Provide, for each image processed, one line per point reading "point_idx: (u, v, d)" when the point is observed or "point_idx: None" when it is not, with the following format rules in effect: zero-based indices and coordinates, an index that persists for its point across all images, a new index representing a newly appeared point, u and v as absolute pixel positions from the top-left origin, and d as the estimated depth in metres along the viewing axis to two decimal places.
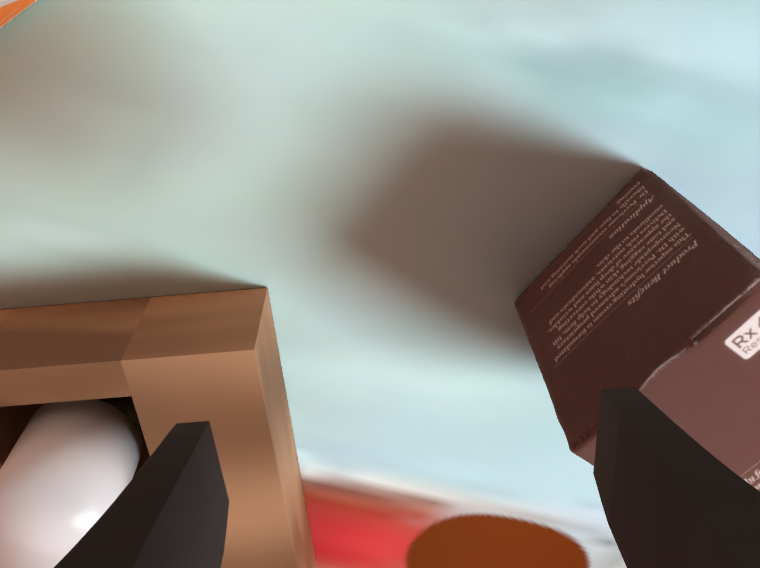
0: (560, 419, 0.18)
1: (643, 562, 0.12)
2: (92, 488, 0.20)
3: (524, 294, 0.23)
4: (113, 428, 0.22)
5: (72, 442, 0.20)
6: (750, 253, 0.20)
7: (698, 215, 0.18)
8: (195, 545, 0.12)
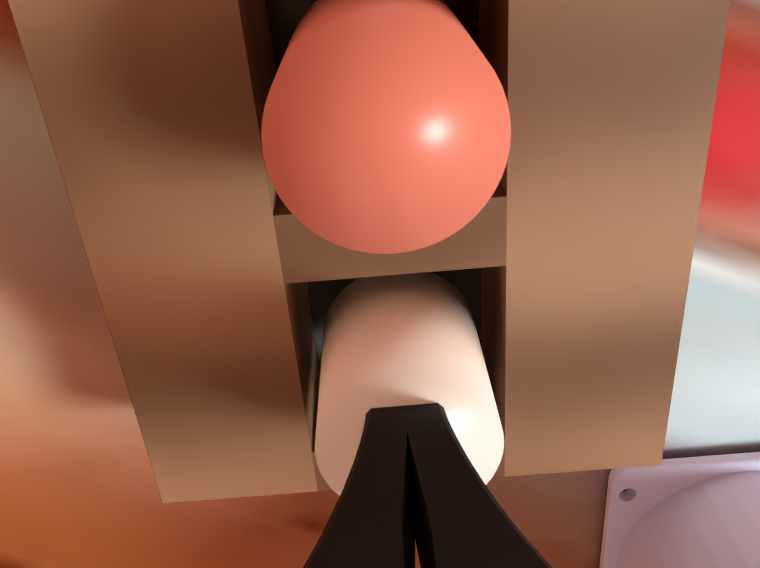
0: None
1: None
2: None
3: None
4: None
5: None
6: None
7: None
8: (410, 528, 0.12)
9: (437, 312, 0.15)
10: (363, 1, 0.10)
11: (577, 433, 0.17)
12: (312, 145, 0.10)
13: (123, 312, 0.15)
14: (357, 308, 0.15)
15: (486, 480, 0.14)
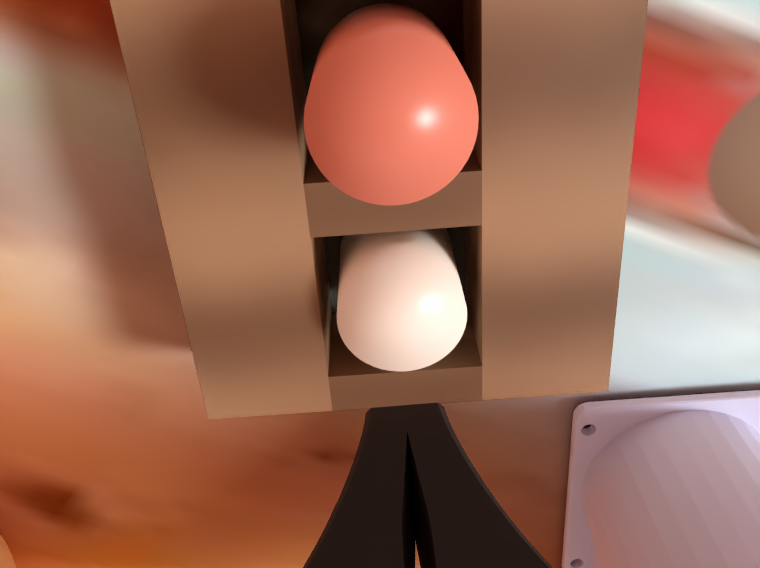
0: None
1: None
2: None
3: None
4: None
5: None
6: None
7: None
8: (410, 528, 0.12)
9: None
10: (376, 25, 0.15)
11: (540, 363, 0.21)
12: (339, 126, 0.15)
13: (185, 259, 0.19)
14: None
15: (455, 343, 0.20)
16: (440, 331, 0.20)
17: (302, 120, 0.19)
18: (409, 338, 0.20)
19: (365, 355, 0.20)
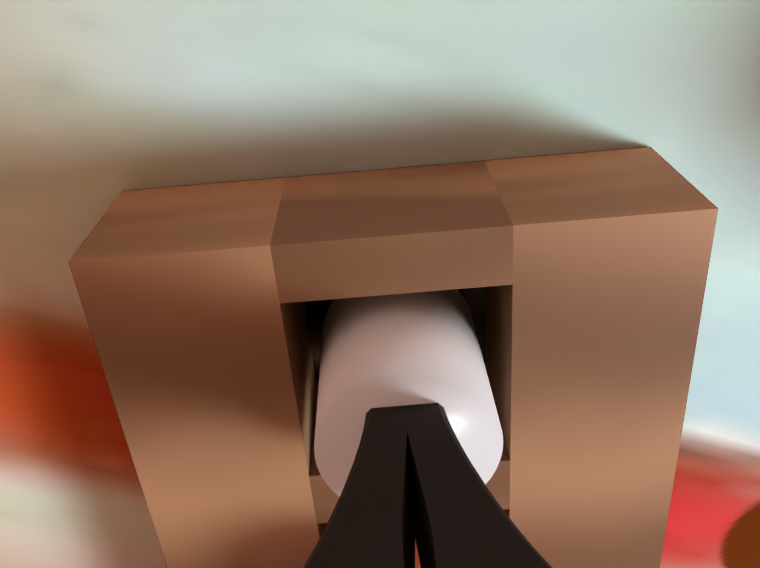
0: None
1: None
2: (481, 377, 0.14)
3: None
4: (461, 308, 0.16)
5: (434, 317, 0.14)
6: None
7: None
8: (410, 528, 0.12)
9: None
10: None
11: None
12: None
13: None
14: None
15: None
16: None
17: None
18: None
19: None
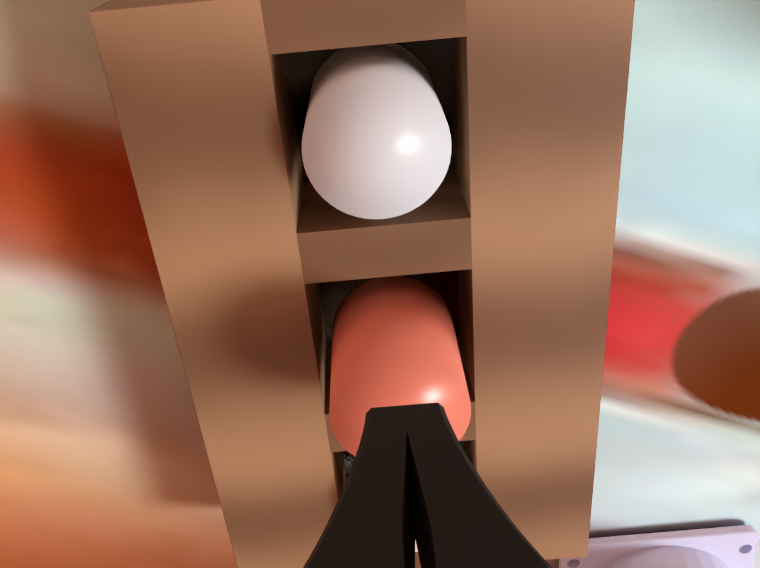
0: None
1: None
2: (434, 96, 0.17)
3: None
4: (422, 68, 0.19)
5: (398, 59, 0.18)
6: None
7: None
8: (410, 528, 0.12)
9: None
10: (386, 332, 0.18)
11: (527, 537, 0.25)
12: (357, 417, 0.18)
13: (223, 470, 0.23)
14: None
15: None
16: None
17: (321, 350, 0.23)
18: None
19: None
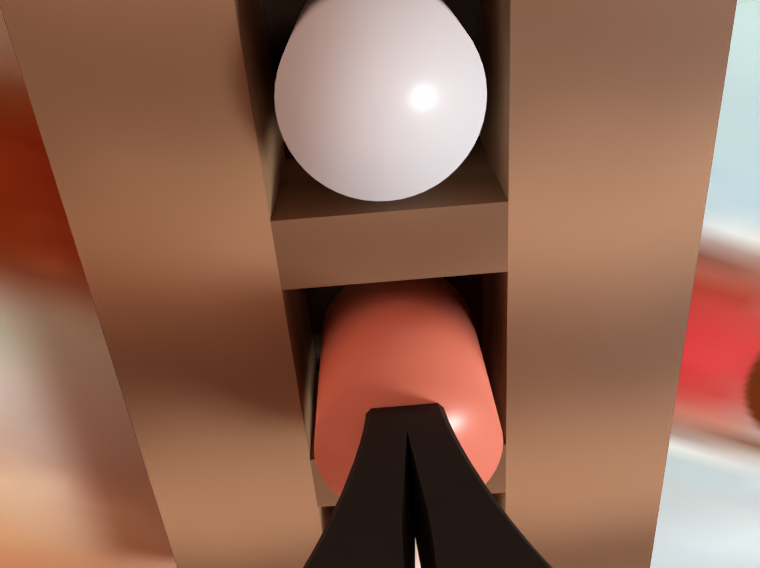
0: None
1: None
2: None
3: None
4: (443, 0, 0.14)
5: None
6: None
7: None
8: (410, 528, 0.12)
9: None
10: (390, 339, 0.14)
11: None
12: (351, 452, 0.13)
13: (181, 529, 0.18)
14: None
15: None
16: None
17: (307, 375, 0.18)
18: None
19: None
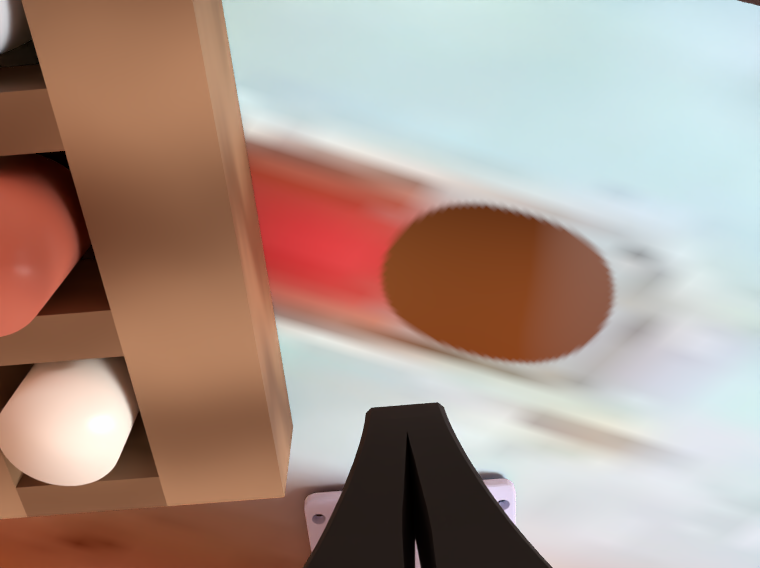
0: None
1: None
2: None
3: None
4: None
5: None
6: None
7: None
8: (410, 528, 0.12)
9: None
10: None
11: (212, 474, 0.23)
12: None
13: None
14: None
15: (117, 460, 0.22)
16: (98, 451, 0.21)
17: None
18: (70, 457, 0.21)
19: (33, 472, 0.21)
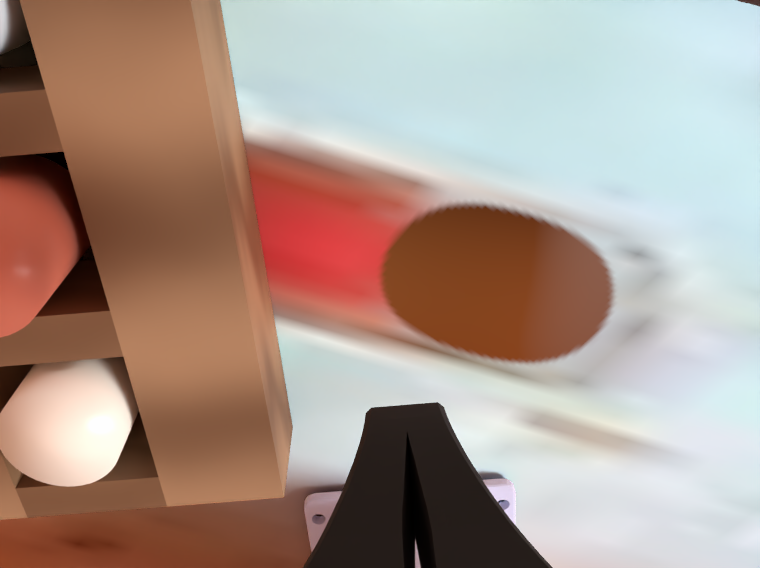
0: None
1: None
2: None
3: None
4: None
5: None
6: None
7: None
8: (410, 528, 0.12)
9: None
10: None
11: (212, 474, 0.23)
12: None
13: None
14: None
15: None
16: (97, 451, 0.21)
17: None
18: (70, 458, 0.21)
19: (32, 473, 0.21)
